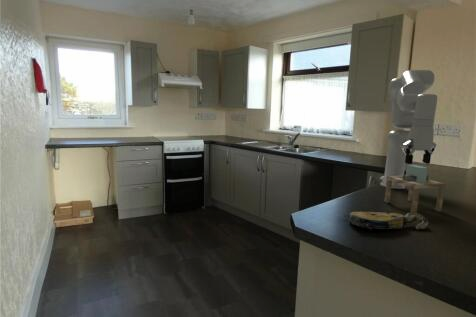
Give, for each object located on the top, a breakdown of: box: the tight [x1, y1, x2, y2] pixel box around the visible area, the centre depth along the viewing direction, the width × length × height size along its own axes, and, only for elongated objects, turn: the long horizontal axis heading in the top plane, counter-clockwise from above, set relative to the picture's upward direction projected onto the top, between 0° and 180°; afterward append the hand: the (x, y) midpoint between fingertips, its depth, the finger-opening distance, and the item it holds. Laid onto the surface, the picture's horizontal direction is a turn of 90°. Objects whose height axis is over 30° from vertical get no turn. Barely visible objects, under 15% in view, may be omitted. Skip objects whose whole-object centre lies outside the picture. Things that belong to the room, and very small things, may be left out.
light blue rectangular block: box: [405, 164, 429, 183], centre depth 130 cm, size 7×4×8 cm, turn 17°
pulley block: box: [344, 210, 430, 231], centre depth 107 cm, size 14×6×30 cm
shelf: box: [383, 174, 446, 213], centre depth 131 cm, size 16×15×14 cm
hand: (417, 163), depth 130 cm, fingers open, 9 cm apart
